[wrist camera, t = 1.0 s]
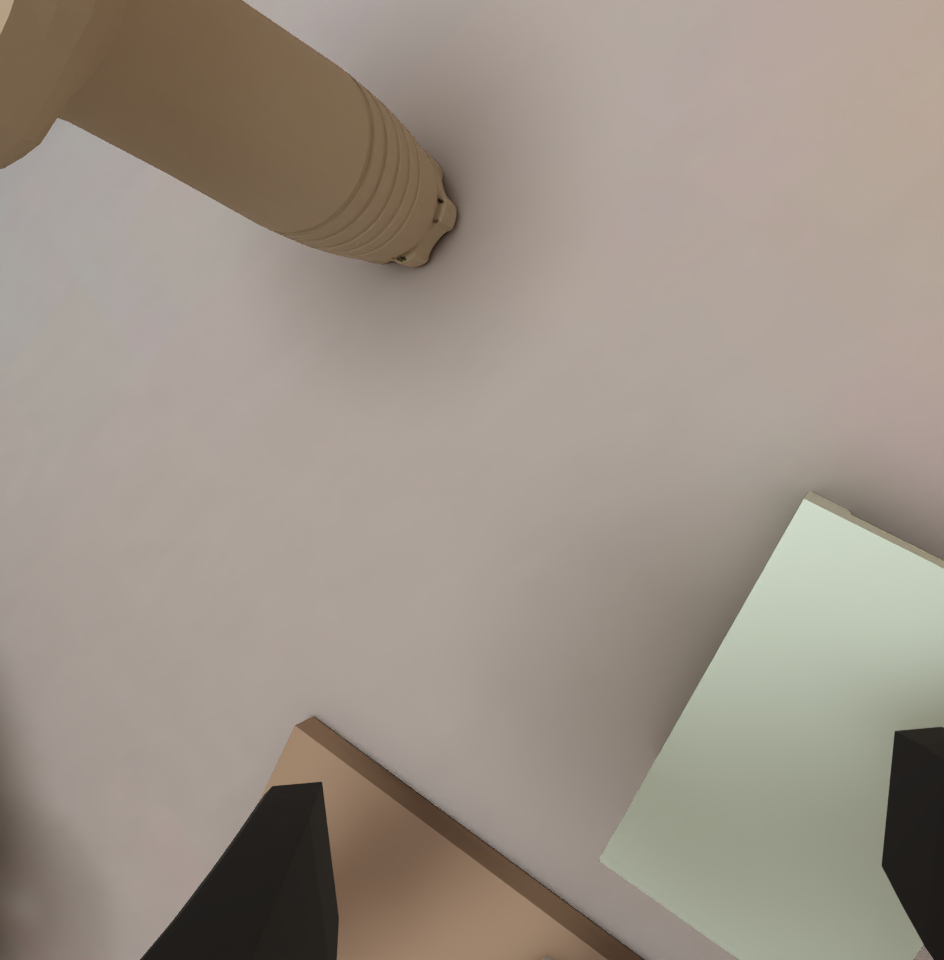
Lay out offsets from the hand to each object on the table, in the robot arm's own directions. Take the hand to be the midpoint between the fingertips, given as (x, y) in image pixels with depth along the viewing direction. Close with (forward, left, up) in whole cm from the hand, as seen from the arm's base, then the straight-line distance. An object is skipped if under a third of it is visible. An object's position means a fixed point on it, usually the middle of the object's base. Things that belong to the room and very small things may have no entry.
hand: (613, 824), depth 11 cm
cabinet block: (-3, 0, -12) cm, 13 cm away
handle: (+13, -6, -12) cm, 19 cm away
